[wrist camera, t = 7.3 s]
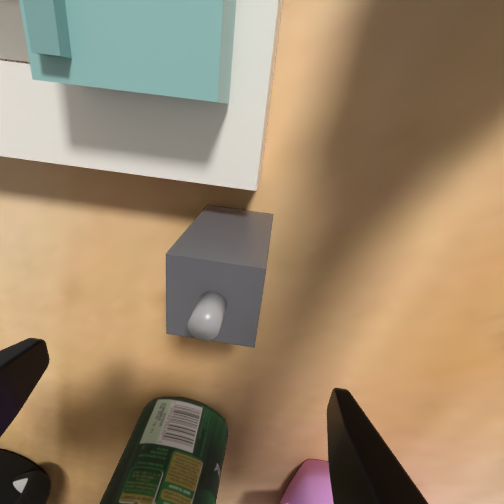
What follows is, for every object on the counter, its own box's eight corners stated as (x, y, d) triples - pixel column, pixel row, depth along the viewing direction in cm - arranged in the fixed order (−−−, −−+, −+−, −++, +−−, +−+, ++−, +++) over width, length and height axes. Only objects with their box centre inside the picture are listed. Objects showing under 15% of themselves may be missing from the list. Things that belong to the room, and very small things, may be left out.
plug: (273, 214, 18) (263, 290, 10) (264, 272, 20) (250, 375, 12) (207, 205, 18) (149, 273, 11) (204, 263, 20) (152, 359, 12)
